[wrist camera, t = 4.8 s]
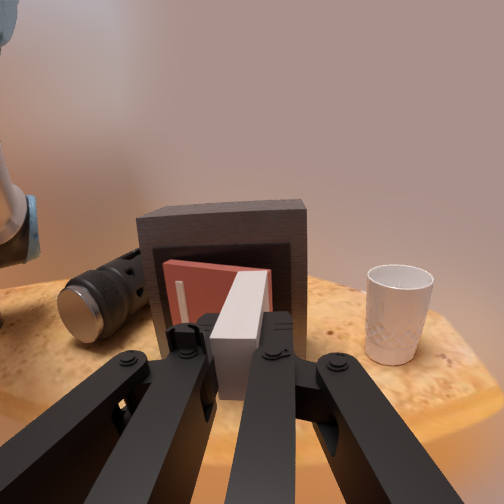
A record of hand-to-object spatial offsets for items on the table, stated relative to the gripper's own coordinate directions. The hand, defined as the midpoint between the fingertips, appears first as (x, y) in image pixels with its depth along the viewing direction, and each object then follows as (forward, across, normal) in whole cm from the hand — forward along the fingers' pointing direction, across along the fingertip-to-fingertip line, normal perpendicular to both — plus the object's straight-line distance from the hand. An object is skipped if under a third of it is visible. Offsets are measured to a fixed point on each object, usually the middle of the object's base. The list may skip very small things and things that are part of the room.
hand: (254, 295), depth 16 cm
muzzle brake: (+28, -24, -15) cm, 40 cm away
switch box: (+16, -4, -15) cm, 22 cm away
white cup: (+16, +14, -16) cm, 27 cm away
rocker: (+9, -4, -9) cm, 14 cm away
